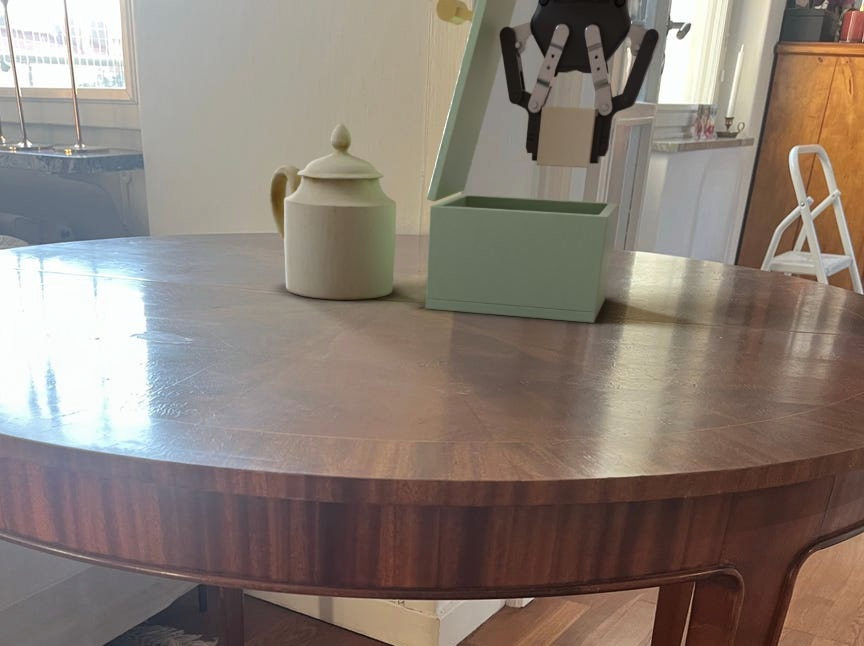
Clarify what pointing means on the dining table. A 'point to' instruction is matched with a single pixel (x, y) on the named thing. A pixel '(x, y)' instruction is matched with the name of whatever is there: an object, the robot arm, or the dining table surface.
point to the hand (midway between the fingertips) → (565, 160)
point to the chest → (520, 256)
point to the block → (566, 136)
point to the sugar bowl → (335, 226)
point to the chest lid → (469, 90)
